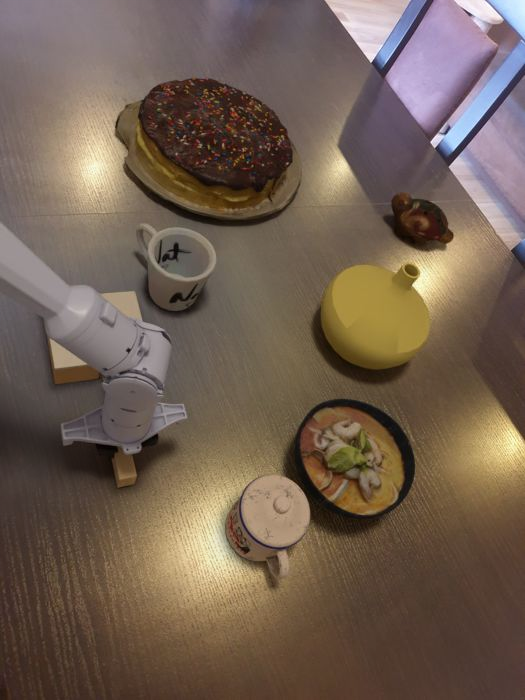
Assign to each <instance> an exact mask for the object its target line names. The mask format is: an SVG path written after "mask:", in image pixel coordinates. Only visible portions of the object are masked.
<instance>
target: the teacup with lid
mask: <svg viewBox="0 0 525 700" xmlns="http://www.w3.org/2000/svg"><path fill="white" fill-rule="evenodd" d="M310 520H311V508H310V503H309V500H308V498H307V496H306V494H305V493H304V491H303V489H301V487H300V486H299V485H298V484H297V483H296V482H294V481H293V480H291V479H290V478H288V477H286V476H283V475H279V474H265V475H261V476H258V477H256V478H255V479H253V480H252V481H249V483H248V484H247V485H246V487H245V488H244V489H243V491H242V493H241V495H240V497H239V498H238V499H237V500H236V501H235V503H234V504H233V505H232V506H231V508H230V509H229V511H228V513H227V516H226V520H225V534H226V538H227V540H228V542H229V544H230V546H231V547H232V549H233V550H234V551H235V553H237V554H238V555H239V556H241V557H242V558H244V559H246V560H248V561H253V562H264V561H266V564H267V567H268V569H269V572H270V573H271V575H272V576H273V578H275V579H276V580H284V579H286V578H288V577H289V575H290V559H289V556H288V552H287V549H288V548H291V547H293V546H294V545H296V544H298V543H299V542H300V541H301V540H302V539H303V538H304V536H305V535H306V533H307V531H308V529H309V526H310ZM276 556H277V557H276ZM277 560H278V561H277Z"/></svg>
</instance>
